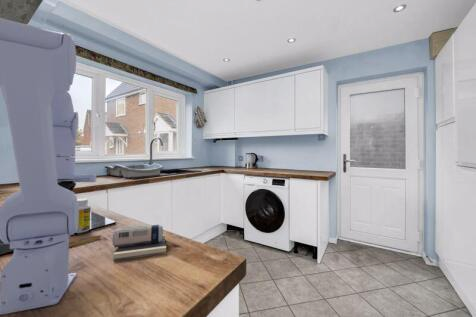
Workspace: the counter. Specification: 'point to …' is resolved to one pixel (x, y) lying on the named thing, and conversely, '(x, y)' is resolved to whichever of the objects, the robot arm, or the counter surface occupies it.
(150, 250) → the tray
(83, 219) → the supplement bottle
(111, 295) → the counter surface
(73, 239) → the shard
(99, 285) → the counter surface
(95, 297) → the counter surface
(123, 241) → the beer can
